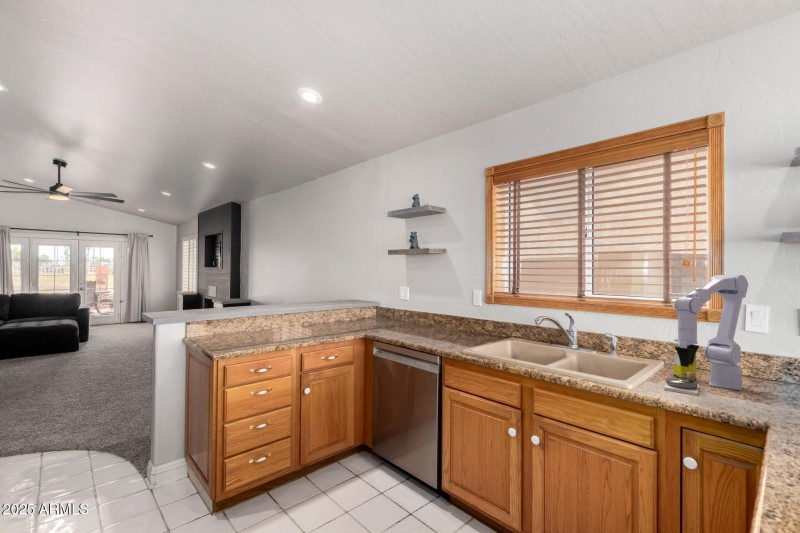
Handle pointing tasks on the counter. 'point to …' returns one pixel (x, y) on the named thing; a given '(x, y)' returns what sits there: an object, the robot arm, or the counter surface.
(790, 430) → the counter surface
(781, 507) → the counter surface
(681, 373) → the supplement box
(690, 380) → the crank wheel
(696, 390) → the base board
